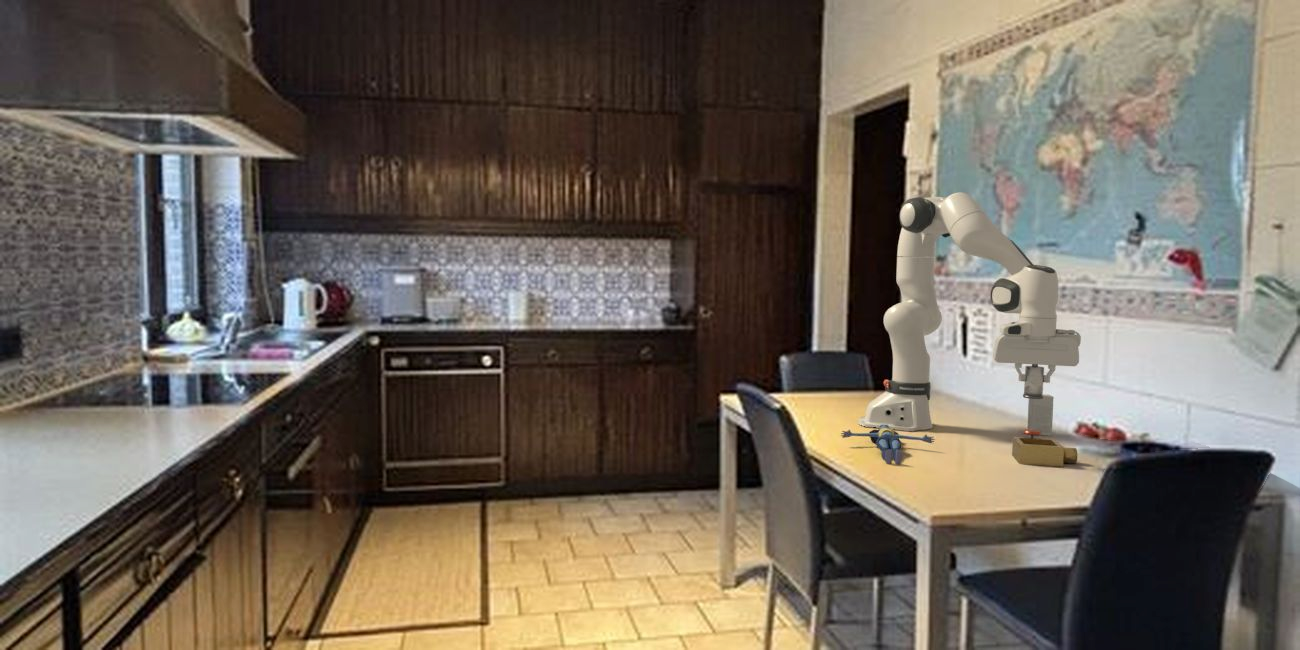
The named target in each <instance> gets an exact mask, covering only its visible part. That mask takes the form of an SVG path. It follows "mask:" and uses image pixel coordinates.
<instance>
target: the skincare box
mask: <svg viewBox="0 0 1300 650" xmlns="http://www.w3.org/2000/svg"><path fill="white" fill-rule="evenodd" d="M1054 399H1055V398H1054V396H1052V395H1051V394H1043V399H1029V398H1028V404H1027V405H1028V406H1027V407H1028V408H1027V429H1030V430H1038V431H1041V435H1040V436H1053V418H1054Z"/></svg>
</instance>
